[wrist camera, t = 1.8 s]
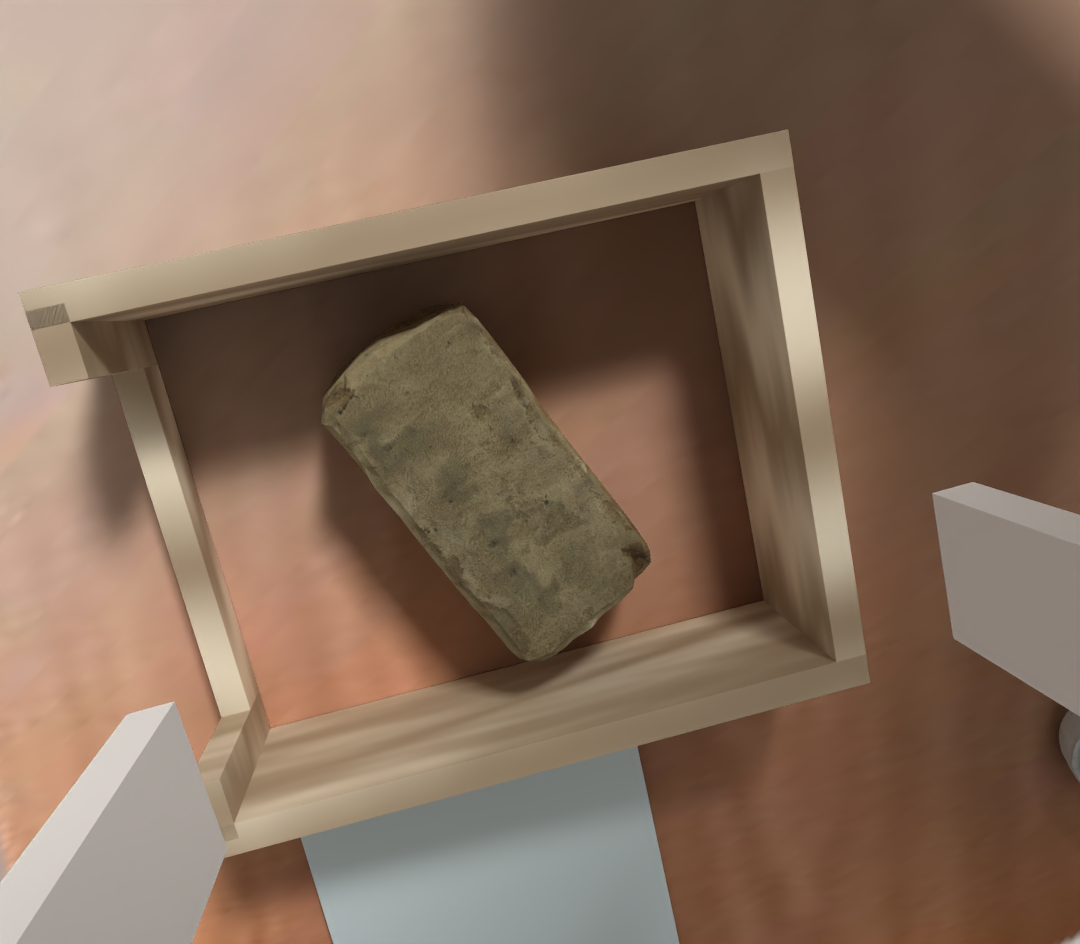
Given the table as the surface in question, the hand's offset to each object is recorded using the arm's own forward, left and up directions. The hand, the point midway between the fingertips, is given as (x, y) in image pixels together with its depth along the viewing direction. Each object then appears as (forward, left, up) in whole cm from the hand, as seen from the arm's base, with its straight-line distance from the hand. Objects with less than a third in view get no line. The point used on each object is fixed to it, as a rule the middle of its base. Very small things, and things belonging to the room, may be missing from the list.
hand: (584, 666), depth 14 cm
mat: (+16, -4, -17) cm, 23 cm away
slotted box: (0, -1, -17) cm, 17 cm away
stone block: (-1, -1, -17) cm, 17 cm away
